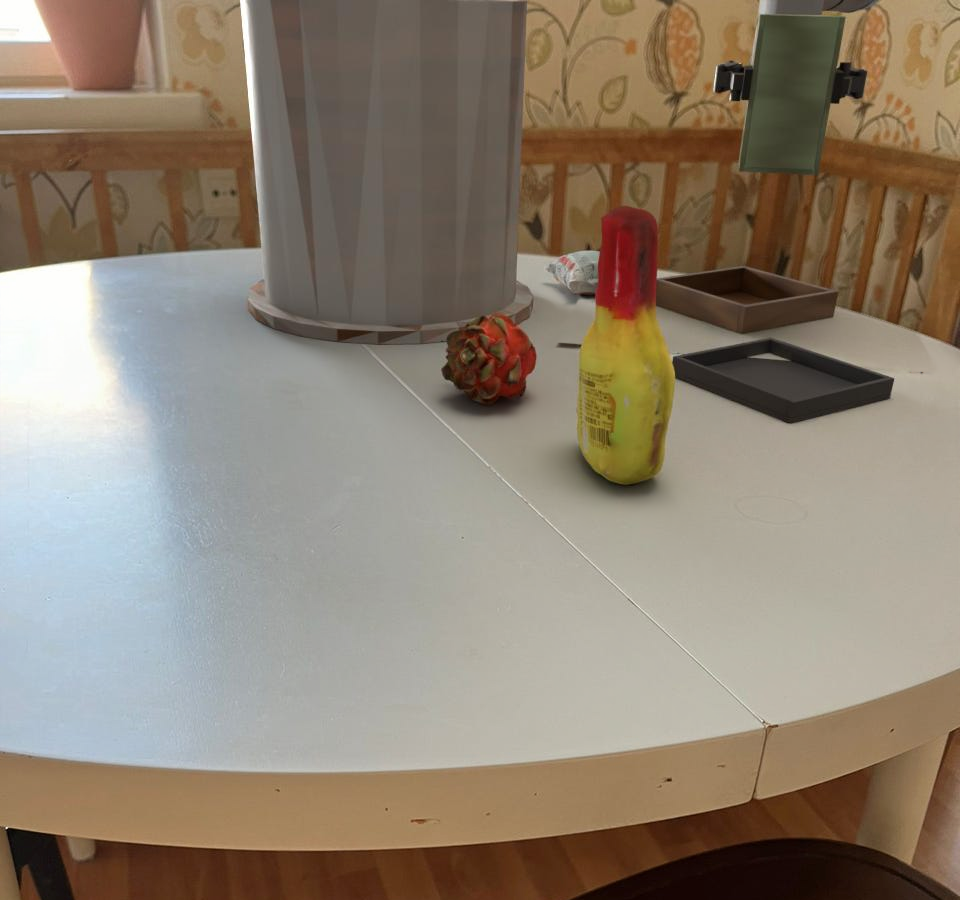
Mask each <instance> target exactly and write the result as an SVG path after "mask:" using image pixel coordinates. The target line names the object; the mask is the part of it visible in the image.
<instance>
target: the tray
mask: <svg viewBox="0 0 960 900" xmlns="http://www.w3.org/2000/svg"><path fill="white" fill-rule="evenodd" d="M764 354H771V355H774V356H777V357H779V358H782V359H776V358H775V359H774V358H760V357H754V356H760V355H761V356H762V355H764ZM671 361H672V364H673V367H674V371H675V379H678V380H680V381H684V382H686V383H689V384H691V385H694V386H696V387H698V388H701V389H703V390H706V391H708V392H711V393H713V394H716V395H718V396H721V397H724V398H726V399H728V400H730V401H731V400H732V401H734V402H736V403H739V404H741V405H742V406H743V405H744V406H745V407H749V408H751V409H754V410H756V411H758V412H761V413H763V414H766V415H769V416H770V417H773V418H776V419H779V420H781V421H783V422H786V423H789V424H792V423H797V422H801V421H804V420H808V419H813V418H816V417H817V418H818V417H820V416H824V415H829V414H832V413H837V412H840V411H844V410H848V409H852V408H856V407H860V406H863V405H868V404H871V403H875V402H879V401H882V400H888V399H890V398H891V395H892V391H893V386H894V383H895V378H894V377H892V376H889V375H886V374H883V373H880V372H877V371H874V370H871V369H868V368H865V367H862V366H858V365H856V364H853V363H849V362H846V361H843V360H840V359H837V358H834V357H831V356H828V355H826V354H822V353H819V352H816V351H813V350H810V349H807V348H803V347H801V346H798V345H794V344H792V343H789V342H787V341H786V342H785V341H782V340H780V339H778V338H777V339H776V338H774V337H767V338H762V339H756V340H752V341H746V342H741V343H735V344H730V345H725V346H720V347H715V348H710V349H704V350H700V351H695V352H689V353H684V354H679V355H673V356H672V360H671Z"/></svg>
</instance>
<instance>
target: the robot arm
mask: <svg viewBox="0 0 960 900" xmlns="http://www.w3.org/2000/svg"><path fill="white" fill-rule="evenodd" d="M877 2H879V0H759V3H758V12H757V18H758V17H759V14H792V15H823V12H839V13H843V14H850V13H855V12H859V11H863V10H867V9H869V8H870V7H873V6H874V5H876V3H877ZM757 24H758V19H757V21H756V26H755V33H754V40H753V47H752V54H751V57H750V61H749V64H748V65H743V62H736V61H735V60H728V61H725V63H720V64H717V65H716V66H715V73H714V81H713V89H712V92H713V93H716V94H722V93H725V92H728V91H730V92H729V99H728V100H729V102H741V101H747V100H749V95H750V87H751V80H752V73H753V68H752V61H753V54H754V46H755V39H756V32H757ZM852 64H853V63H852V62H851V61H850V62H848V61H845V62H843V61H841V62H839V66H838V65H837V70H836V75H835V81H834V86H833V92H832V98H831V104H832V105H834V104H835V105H839V104H840V102H841V100H842V99H845V98H846V97H849V98H852V99H854V100H859V99H863V98H864V92H865V89H866V88H865V87H866V83H867V78H868V70H865V69H864V68H863V69H862V68H854V67H852ZM831 104H830V105H831Z"/></svg>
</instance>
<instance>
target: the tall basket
mask: <svg viewBox="0 0 960 900" xmlns="http://www.w3.org/2000/svg"><path fill="white" fill-rule="evenodd" d="M757 20H758V24H757V23H756V25H757V32H756V39H755V38H754V39H755V46H754V45H753V46H754V54H753V61H752V68H753V73H752V80H751V87H750V95H749V100H746V105H745V112H744V120H743V127H742V133H741V134H742V135H741V142H740V147H739V157H738V172H741V173H757V174H758V173H762V174H779V175H780V174H782V175H800V176H801V175H802V176H819V172H820V165H821V160H822V155H823V149H824V144H825V139H826V134H827V133H826V132H827V127H828V121H829V116H830V109H831V98H832V92H833V86H834V81H835V75H836V70H837V66H838V64H839V57H840V52H841V46H842V41H843V35H844V29H845V25H846V16H844V15H830V14H829V15H828V14H827V15H825V14H822V15H792V14H759V17H758V16H757Z"/></svg>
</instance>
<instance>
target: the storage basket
mask: <svg viewBox="0 0 960 900" xmlns="http://www.w3.org/2000/svg"><path fill="white" fill-rule="evenodd" d="M527 11H528V1H527V0H240V12H241V22H242V23H241V24H242V35H243V46H244V58H245V59H244V60H245V71H246V82H247V92H248V95H247V96H248V106H249V117H250V118H249V119H250V130H251V140H252V141H251V142H252V152H253V153H252V154H253V162H254V163H253V165H254V175H255V176H254V177H255V188H256V200H257V211H258V223H259V224H258V225H259V236H260V247H261V258H262V272H263V279H260V280H259V281H258V282H256V283H255V284H253V285H252V286H251V287H249V288H248V292H247V295H246V303H247V304H246V305H247V311H248V312H249V313H250V315H251V316H252V317H253V318H254V320H256V321H258V322H260V323H261V324H264V325H266V326H267V327H270V328H272V329H274V330H277V331H281V332H285V333H289V334H292V335H295V336H300V337H305V338H311V339H317V340H318V339H319V340H325V341H330V342H337V343H353V344H368V345H369V344H370V345H421V344H422V345H423V344H432V343H442V342H441V341H444V342H446V338H447V336H448V335H449V334H450V333H451V332H454V331H458V330H465V326H466V325H467V323H469V322H471V321H473V320H474V319H476V318H479V317H481V316H485V317H487V318H489V317H490V316H491V315H492V314H494V313H502V314H504V315H506V316H508V317H510V318H511V319H512V321H513V322H514V323H515V324H516V325H517V326H518V325H519V324H521V323H522V322H524V321H525V320H527V319H528V318H530V316H531V313H532V311H533V308H534V294H533V293H532V290H531V289H530V288H529V287H528V285H526V284H524V283H522V282H520V281H519V280H517V270H518V246H519V245H518V244H519V223H520V222H519V221H520V220H519V219H520V197H521V195H520V192H521V167H522V165H521V164H522V141H523V118H524V117H523V116H524V93H525V92H524V90H525V65H526V42H527V41H526V40H527V39H526V38H527V15H528V14H527Z"/></svg>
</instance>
